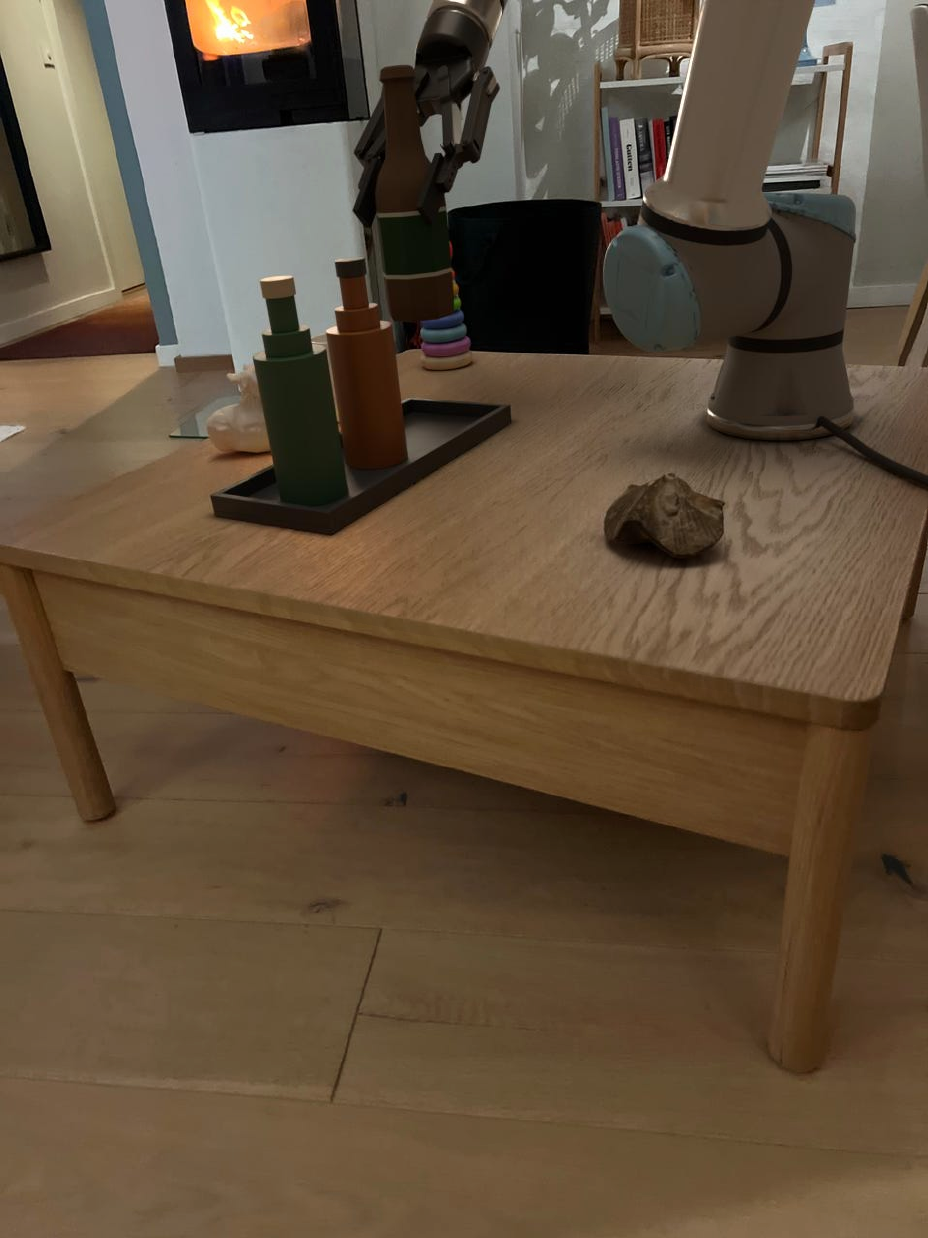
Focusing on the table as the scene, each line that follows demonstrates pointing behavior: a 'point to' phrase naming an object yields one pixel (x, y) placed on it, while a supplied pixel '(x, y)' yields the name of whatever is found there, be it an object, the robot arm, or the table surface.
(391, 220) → the beer bottle
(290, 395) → the bottle far
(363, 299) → the bottle mid
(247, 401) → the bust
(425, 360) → the stacking toy
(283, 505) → the tray
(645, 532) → the fossilized seashell
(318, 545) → the table surface
